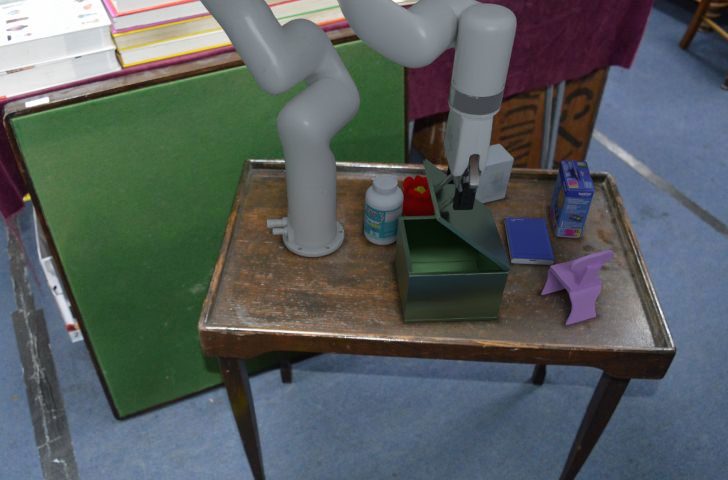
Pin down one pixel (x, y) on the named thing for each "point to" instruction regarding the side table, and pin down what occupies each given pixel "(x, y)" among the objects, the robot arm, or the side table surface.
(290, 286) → the side table surface
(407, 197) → the flower
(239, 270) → the side table surface
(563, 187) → the ink cartridge box
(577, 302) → the purple stand
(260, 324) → the side table surface
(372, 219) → the pill bottle
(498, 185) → the cosmetics box
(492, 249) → the green box lid
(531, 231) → the hard drive
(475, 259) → the green open box
